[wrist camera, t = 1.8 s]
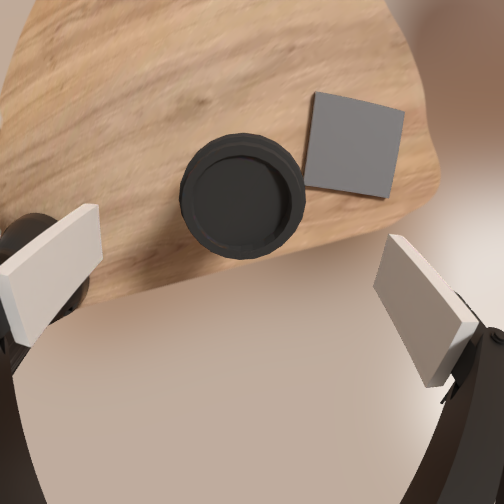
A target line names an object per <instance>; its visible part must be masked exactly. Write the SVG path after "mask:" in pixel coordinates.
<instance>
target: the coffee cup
mask: <svg viewBox="0 0 504 504" xmlns="http://www.w3.org/2000/svg"><path fill="white" fill-rule="evenodd" d="M179 202H180V208H181V213H182V216H183V218H184V220H185V223H186V225H187V227H188V229H189V230H190V232H191V233H192V235H193V236H194V237H195V238H196V239H197V241H198V242H199V243H200V244H201V245H203V246H204V247H206V248H207V249H208V250H210V251H211V252H213V253H215V254H218V255H220V256H223V257H225V258H231V259H238V260H244V259H255V258H258V257H261V256H264V255H267V254H270V253H271V252H273V251H274V250H276V249H277V248H279V247H281V246H282V245H283V244H284V243H285V242H286V241H287V240H288V239H289V238H290V237H291V236H292V235H293V233H294V232H295V231H296V229H297V227H298V225H299V223H300V222H301V220H302V218H303V213H304V209H305V204H306V196H305V184H304V179H303V176H302V174H301V171H300V168H299V166H298V164H297V163H296V161H295V160H294V159H293V157H292V156H291V154H290V153H289V152H288V151H286V150H285V149H284V148H283V147H282V146H280V145H279V144H278V143H277V142H275V141H272V140H270V139H268V138H266V137H263V136H261V135H255V134H249V133H238V134H229V135H225V136H223V137H220V138H217V139H215V140H213V141H211V142H209V143H208V144H207V145H205V146H204V147H203V148H201V149H200V150H199V151H198V152H197V153H196V154H195V156H194V157H193V158H192V160H191V161H190V162H189V164H188V166H187V168H186V170H185V173H184V175H183V178H182V181H181V183H180V194H179Z"/></svg>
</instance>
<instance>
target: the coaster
mask: <svg viewBox="0 0 504 504" xmlns="http://www.w3.org/2000/svg"><path fill="white" fill-rule="evenodd" d="M404 114H405V112H404V111H400V110H397V109H393V108H389V107H385V106H382V105H378V104H374V103H369V102H365V101H361V100H356V99H352V98H347V97H342V96H337V95H332V94H327V93H321V92H315V96H314V104H313V112H312V119H311V127H310V134H309V141H308V148H307V155H306V162H305V169H304V176H303V179H304V184H305V185H306V186H314V187H321V188H328V189H335V190H341V191H348V192H354V193H361V194H367V195H373V196H379V197H384V198H389V196H390V191H391V186H392V182H393V177H394V172H395V167H396V162H397V156H398V151H399V145H400V139H401V133H402V127H403V121H404Z"/></svg>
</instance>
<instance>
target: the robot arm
mask: <svg viewBox="0 0 504 504" xmlns="http://www.w3.org/2000/svg"><path fill="white" fill-rule="evenodd" d="M102 259H103V255H102V245H101V234H100V221H99V206H98V204H83V205H81V206H80V207H78V208H77V209H75V210H74V211H73V212H71V213H70V214H68V215H67V216H65V217H64V218H62V219H61V220H59V221H57V220H55V219H54V218H52V217H50V216H47V215H44V214H40V213H30V214H26V215H24V216H22V217H20V218H19V219H17V220H16V221H14V222H13V223H11V224H10V225H9V226H8V227H7V229H6V230H5V232H4V234H3V236H2V237H1V239H0V504H47V502H46V500H45V498H44V495H43V492H42V489H41V487H40V484H39V481H38V478H37V475H36V473H35V470H34V466H33V463H32V460H31V457H30V454H29V450H28V447H27V443H26V440H25V436H24V432H23V428H22V424H21V420H20V415H19V411H18V406H17V401H16V396H15V390H14V384H13V378H12V375H13V374H14V372H15V371H16V369H17V368H18V366H19V365H20V363H21V362H22V360H23V359H24V357H25V356H26V354H27V353H28V351H29V350H30V348H31V347H32V346H33V344H34V343H35V342H36V340H37V339H38V338H39V336H40V335H41V334H42V332H43V331H44V330H45V328H46V327H47V326H48V325H50V324H52V323H54V322H55V321H57V320H59V319H61V318H63V317H64V316H67V315H68V314H70V313H72V312H73V311H74V310H75V309H76V308H77V307H78V306H79V304H80V303H81V302H82V300H83V299H84V297H85V296H86V294H87V291H88V287H89V274H90V273H91V272H92V271H93V270H94V269H95V267H96V266H97V265H98V264H99V263H100V262H101V261H102ZM373 287H374V289H375V290H376V292H377V294H378V296H379V298H380V299H381V301H382V303H383V305H384V306H385V308H386V310H387V312H388V314H389V316H390V318H391V319H392V321H393V323H394V325H395V327H396V329H397V331H398V333H399V335H400V337H401V339H402V341H403V343H404V345H405V346H406V348H407V350H408V352H409V354H410V356H411V358H412V360H413V362H414V364H415V367H416V369H417V371H418V372H419V375H420V377H421V379H422V381H423V383H424V385H425V387H426V388H429V387H438V386H443V385H444V383H445V382H446V380H447V379H448V377H449V375H450V374H452V376H453V377H454V379H455V382H454V383H453V385H452V386H451V388H450V389H449V391H448V392H447V394H446V395H445V397H444V398H443V400H442V401H441V402H440V403H441V404H443V403H444V401H446V402H445V405H444V408H443V410H442V413H441V416H440V419H439V421H438V424H437V426H436V429H435V431H434V434H433V436H432V439H431V441H430V444H429V446H428V448H427V450H426V453H425V455H424V457H423V459H422V461H421V464H420V466H419V468H418V470H417V472H416V474H415V476H414V478H413V480H412V482H411V484H410V486H409V488H408V489H407V491H406V493H405V495H404V497H403V499H402V500H401V502H400V504H494V503H495V504H504V332H503V331H502V330H500V329H497V328H494V327H488V328H486V327H485V325H484V324H483V323H482V322H481V320H480V319H479V318H478V317H477V315H476V314H475V313H474V312H473V311H472V310H471V308H470V307H469V306H468V305H467V304H466V303H465V301H464V300H463V299H462V297H461V296H460V295H459V294H457V293H456V292H455V291H453V290H452V289H451V287H450V286H449V285H448V284H447V283H446V282H445V281H444V280H443V278H442V277H441V276H440V275H439V274H438V273H437V272H436V271H435V269H433V267H432V266H431V265H430V264H429V263H428V262H427V261H426V260H425V259H424V257H423V256H422V255H421V254H420V253H419V252H418V251H417V250H416V249H415V248H414V247H413V246H412V245H411V244H410V243H409V242H408V241H407V240H406V239H405V238H404V237H403V236H401V235H393V234H388V237H387V241H386V244H385V248H384V252H383V255H382V259H381V262H380V266H379V269H378V272H377V275H376V279H375V282H374V285H373Z"/></svg>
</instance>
